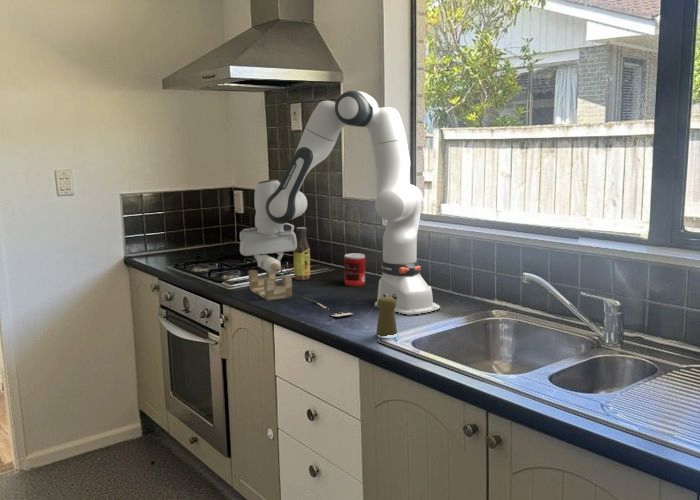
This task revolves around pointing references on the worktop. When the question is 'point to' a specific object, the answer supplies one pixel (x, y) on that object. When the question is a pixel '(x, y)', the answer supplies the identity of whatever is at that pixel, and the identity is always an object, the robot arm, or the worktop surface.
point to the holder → (270, 286)
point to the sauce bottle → (302, 256)
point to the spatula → (326, 307)
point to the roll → (270, 264)
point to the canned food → (354, 269)
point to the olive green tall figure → (386, 316)
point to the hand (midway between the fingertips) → (269, 265)
